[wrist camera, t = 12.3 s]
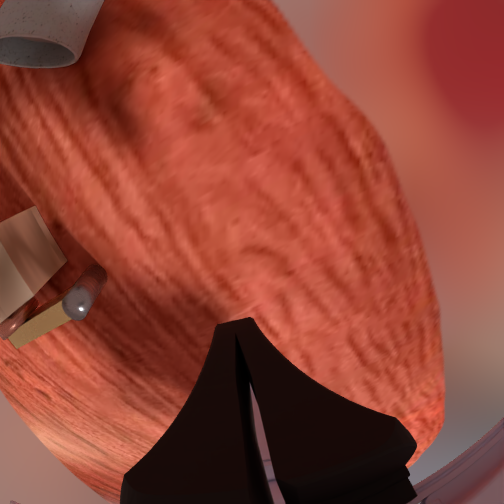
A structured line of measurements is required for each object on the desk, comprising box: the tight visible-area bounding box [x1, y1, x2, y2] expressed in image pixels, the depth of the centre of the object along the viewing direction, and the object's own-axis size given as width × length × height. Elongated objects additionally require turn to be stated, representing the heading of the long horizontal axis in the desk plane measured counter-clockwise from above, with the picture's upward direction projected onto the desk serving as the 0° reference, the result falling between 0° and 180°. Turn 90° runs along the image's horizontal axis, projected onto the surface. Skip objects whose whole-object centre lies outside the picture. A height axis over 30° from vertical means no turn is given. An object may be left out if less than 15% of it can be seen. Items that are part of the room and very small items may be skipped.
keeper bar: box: [8, 265, 107, 349], centre depth 16 cm, size 10×2×5 cm, turn 114°
